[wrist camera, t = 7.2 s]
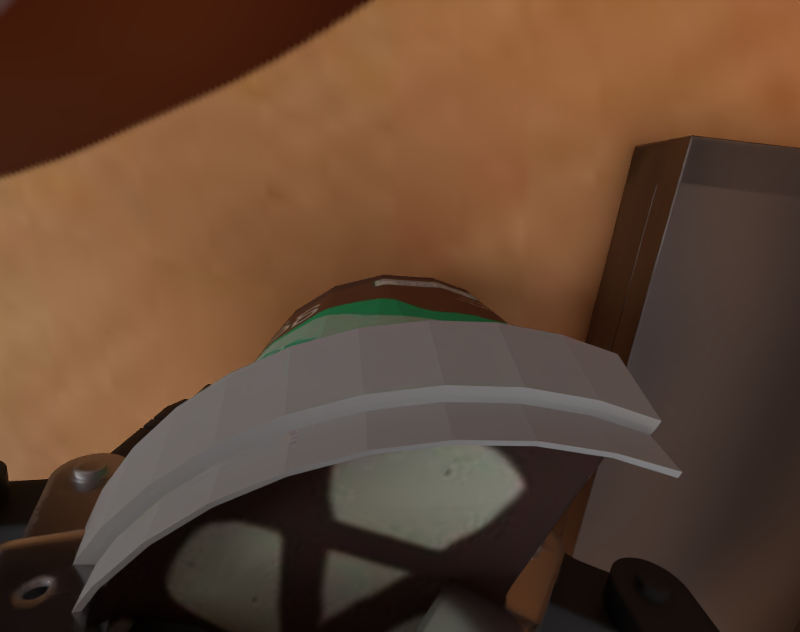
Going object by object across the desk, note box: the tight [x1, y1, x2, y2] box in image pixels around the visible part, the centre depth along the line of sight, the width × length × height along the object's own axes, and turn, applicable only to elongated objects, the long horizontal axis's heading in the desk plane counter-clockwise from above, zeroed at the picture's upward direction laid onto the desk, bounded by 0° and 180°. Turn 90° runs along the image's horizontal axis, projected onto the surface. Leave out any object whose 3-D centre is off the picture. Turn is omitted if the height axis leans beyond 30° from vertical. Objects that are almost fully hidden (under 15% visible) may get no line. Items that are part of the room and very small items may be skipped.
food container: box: [71, 275, 682, 632], centre depth 11 cm, size 12×6×10 cm, turn 155°
